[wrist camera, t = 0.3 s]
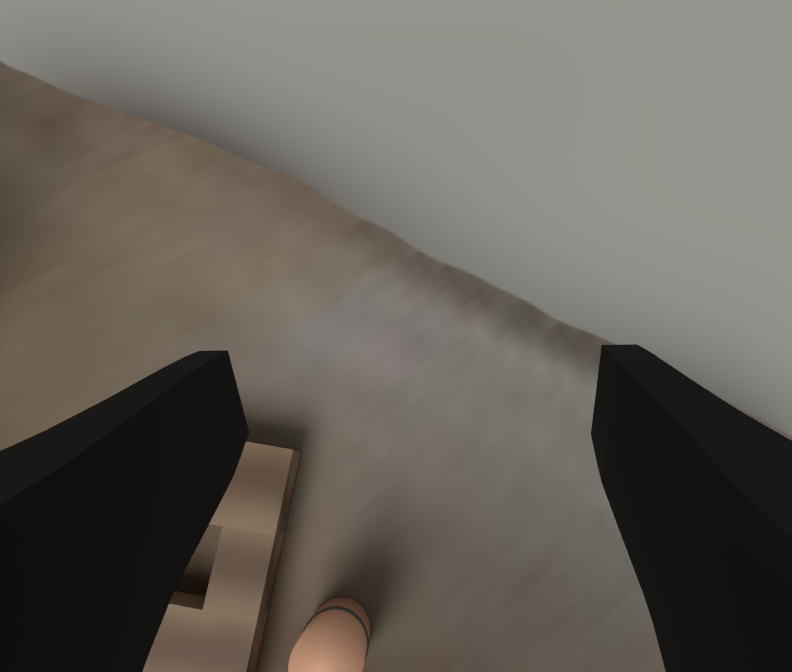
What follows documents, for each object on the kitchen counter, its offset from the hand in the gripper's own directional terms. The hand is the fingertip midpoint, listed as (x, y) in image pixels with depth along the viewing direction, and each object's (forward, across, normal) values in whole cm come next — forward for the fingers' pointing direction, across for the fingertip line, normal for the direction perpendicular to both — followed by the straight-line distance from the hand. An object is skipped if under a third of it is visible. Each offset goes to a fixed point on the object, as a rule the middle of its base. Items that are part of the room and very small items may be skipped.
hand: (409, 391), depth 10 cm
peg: (+13, +8, +28) cm, 31 cm away
